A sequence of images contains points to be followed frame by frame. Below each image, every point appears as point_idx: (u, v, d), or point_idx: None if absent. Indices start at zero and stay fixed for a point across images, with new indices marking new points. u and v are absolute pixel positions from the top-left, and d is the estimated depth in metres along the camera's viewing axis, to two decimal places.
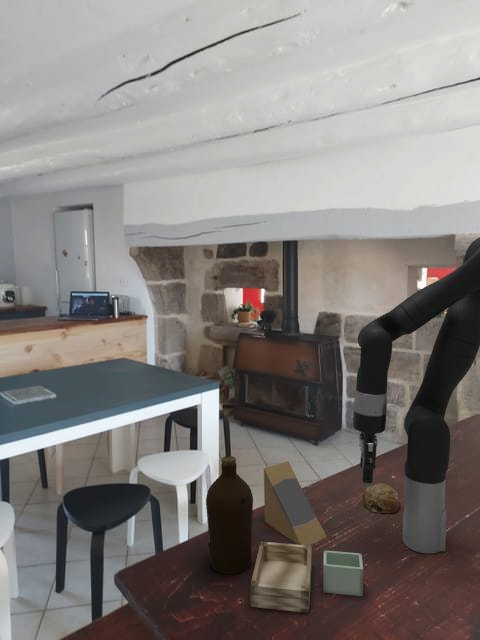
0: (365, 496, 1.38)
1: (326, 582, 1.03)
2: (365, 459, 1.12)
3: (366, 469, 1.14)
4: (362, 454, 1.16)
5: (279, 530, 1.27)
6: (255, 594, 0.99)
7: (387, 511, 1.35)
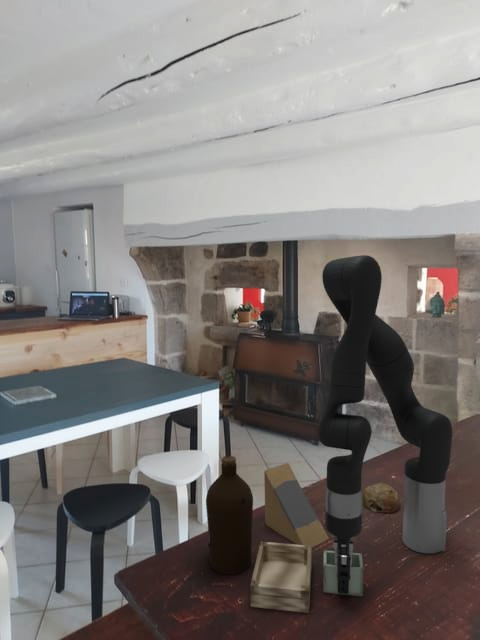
0: (365, 496, 1.39)
1: (326, 582, 1.03)
2: (338, 572, 0.99)
3: None
4: (336, 562, 1.02)
5: (281, 533, 1.26)
6: (255, 594, 0.99)
7: (387, 511, 1.35)
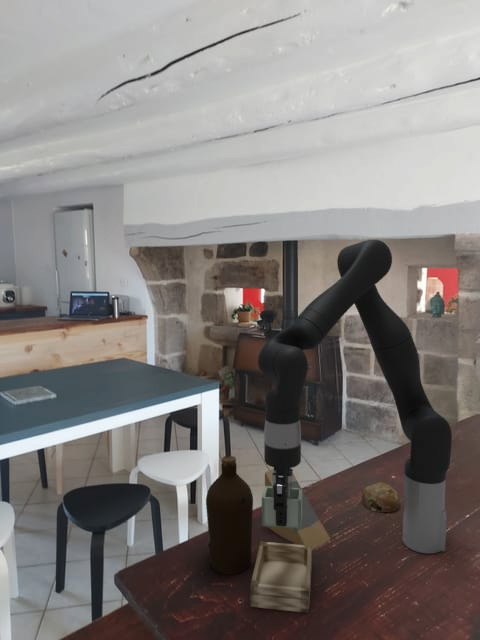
0: (365, 495, 1.39)
1: (264, 515, 1.02)
2: (274, 502, 0.98)
3: (278, 511, 1.00)
4: None
5: (282, 535, 1.25)
6: (255, 594, 0.99)
7: (387, 510, 1.35)
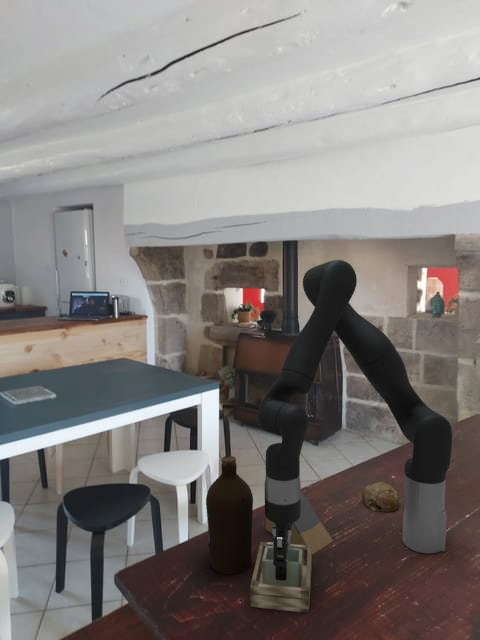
0: (364, 495, 1.39)
1: (265, 577, 1.04)
2: (274, 556, 0.99)
3: (278, 565, 1.00)
4: (274, 547, 1.02)
5: None
6: (255, 594, 0.99)
7: (386, 510, 1.36)
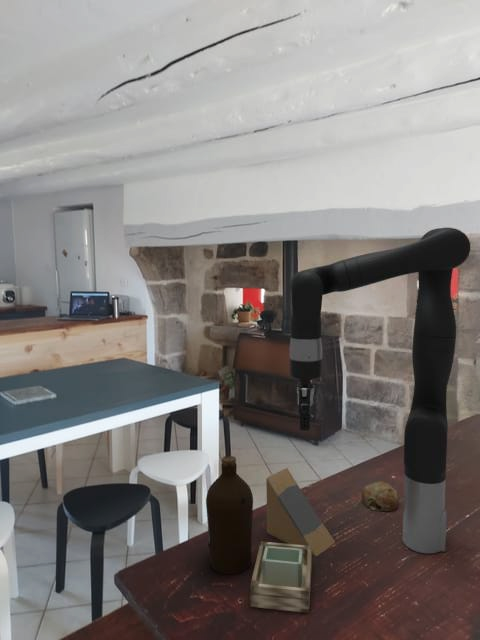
0: (364, 494, 1.40)
1: (265, 577, 1.04)
2: (299, 404, 1.11)
3: (302, 415, 1.13)
4: (298, 401, 1.14)
5: (286, 541, 1.22)
6: (255, 594, 0.99)
7: (386, 509, 1.36)
